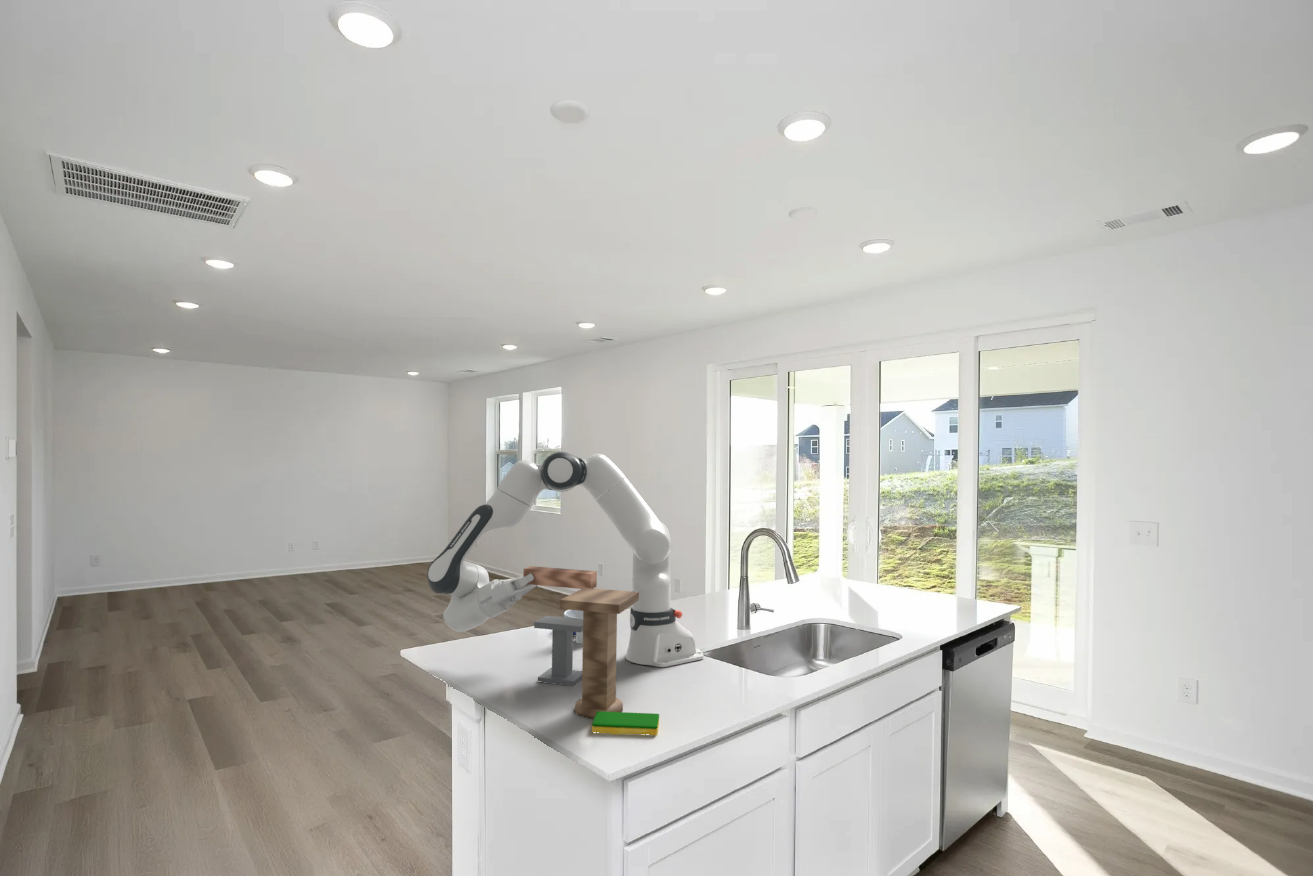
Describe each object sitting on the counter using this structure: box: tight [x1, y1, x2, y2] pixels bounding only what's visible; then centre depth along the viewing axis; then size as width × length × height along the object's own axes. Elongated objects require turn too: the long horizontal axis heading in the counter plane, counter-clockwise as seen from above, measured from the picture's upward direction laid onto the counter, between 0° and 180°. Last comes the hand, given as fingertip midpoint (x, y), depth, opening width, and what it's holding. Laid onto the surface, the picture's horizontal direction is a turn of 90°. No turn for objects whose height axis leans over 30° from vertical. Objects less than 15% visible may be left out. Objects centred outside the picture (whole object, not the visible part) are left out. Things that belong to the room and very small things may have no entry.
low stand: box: [533, 615, 583, 687], centre depth 175 cm, size 13×8×15 cm, turn 73°
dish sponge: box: [591, 711, 660, 736], centre depth 145 cm, size 7×14×2 cm, turn 87°
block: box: [522, 565, 598, 590], centre depth 175 cm, size 19×4×4 cm, turn 73°
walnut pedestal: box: [559, 588, 639, 720], centre depth 155 cm, size 14×14×26 cm
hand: (538, 574), depth 177 cm, fingers closed on block, 4 cm apart
